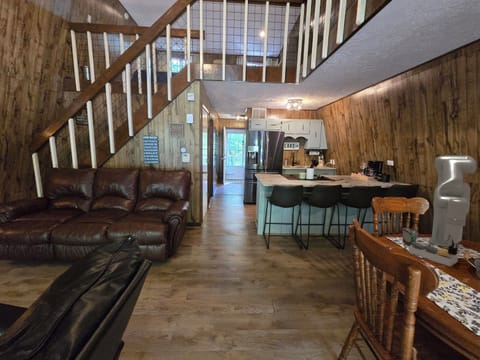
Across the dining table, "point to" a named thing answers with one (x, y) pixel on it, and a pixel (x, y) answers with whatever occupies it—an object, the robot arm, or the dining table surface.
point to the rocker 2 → (430, 249)
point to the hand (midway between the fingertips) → (452, 254)
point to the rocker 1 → (417, 245)
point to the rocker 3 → (443, 253)
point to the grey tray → (434, 256)
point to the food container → (409, 236)
